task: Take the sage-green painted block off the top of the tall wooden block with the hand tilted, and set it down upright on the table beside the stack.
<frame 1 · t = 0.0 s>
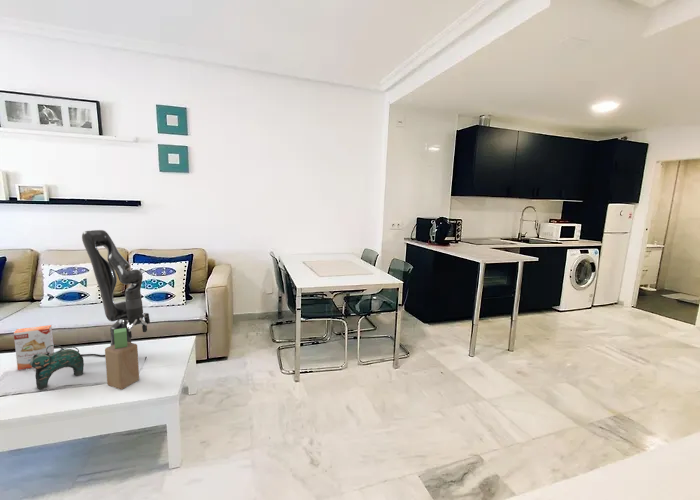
hand: (137, 334, 181), 17 cm above the table, tool pointing down, fingers open, 8 cm apart
ceramic cat: (59, 381, 165), on the table
green block: (121, 345, 162), point 20 cm above the table, touching wooden block
wooden block: (123, 383, 166), on the table, touching green block
cracker box: (37, 365, 178), on the table
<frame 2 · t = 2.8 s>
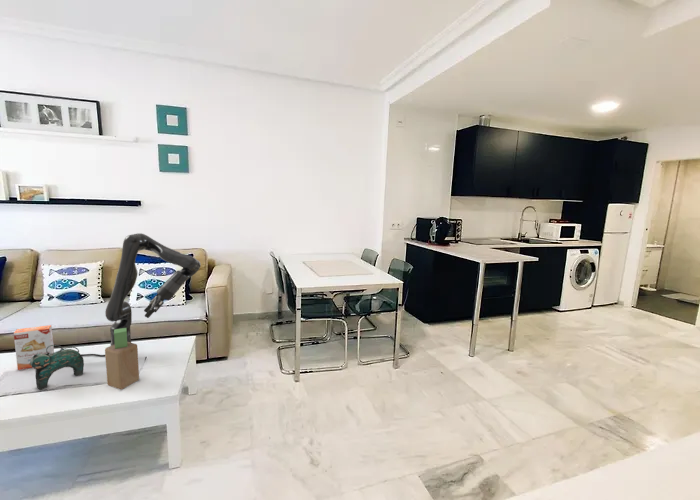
hand: (145, 314, 167), 34 cm above the table, tool tilted 40°, fingers open, 8 cm apart
nothing on the table moved.
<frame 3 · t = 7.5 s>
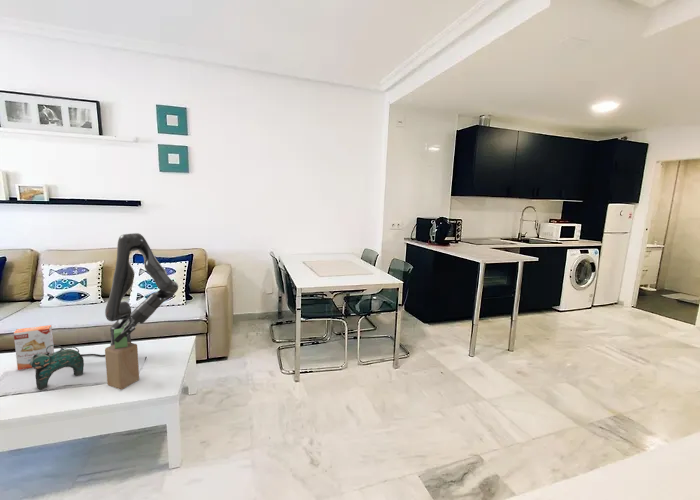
hand: (116, 339, 161), 24 cm above the table, tool tilted 45°, fingers closed on green block, 5 cm apart
green block: (121, 345, 162), point 20 cm above the table, touching gripper, wooden block
everything else where it was.
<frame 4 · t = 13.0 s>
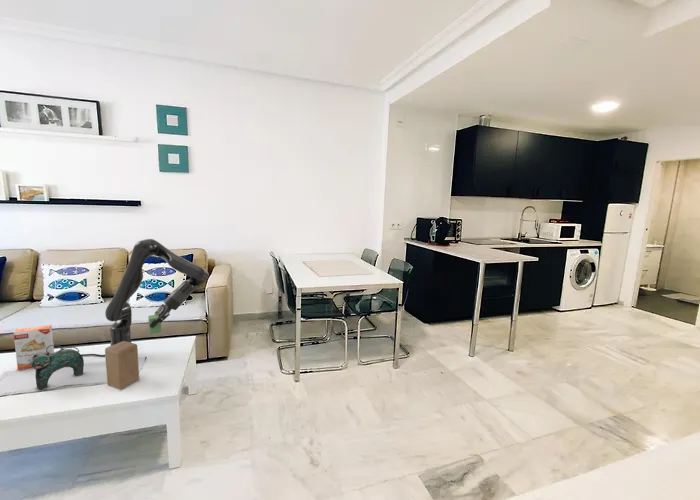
hand: (150, 324, 165), 30 cm above the table, tool tilted 45°, fingers closed on green block, 5 cm apart
green block: (155, 331, 167), point 26 cm above the table, touching gripper
wooden block: (123, 383, 166), on the table
everything else where it was.
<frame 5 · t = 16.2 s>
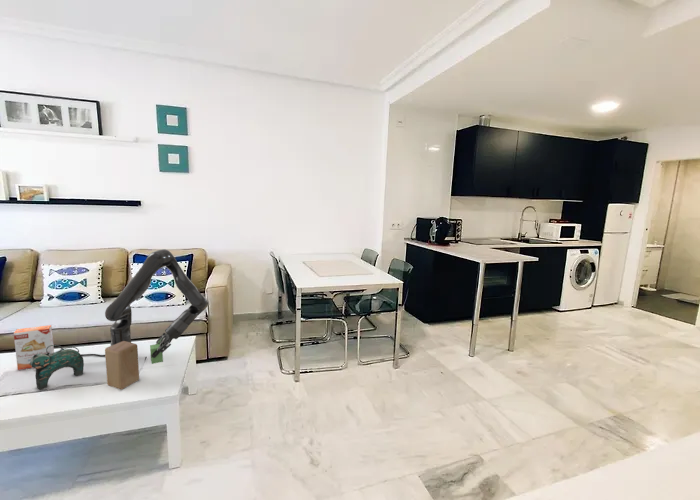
hand: (152, 354, 168), 14 cm above the table, tool tilted 45°, fingers closed on green block, 5 cm apart
green block: (156, 360, 170), point 10 cm above the table, touching gripper
everything else where it was.
when the fingers open (4 cm above the table, at t = 18.9 s): green block stays where it is, on the table.
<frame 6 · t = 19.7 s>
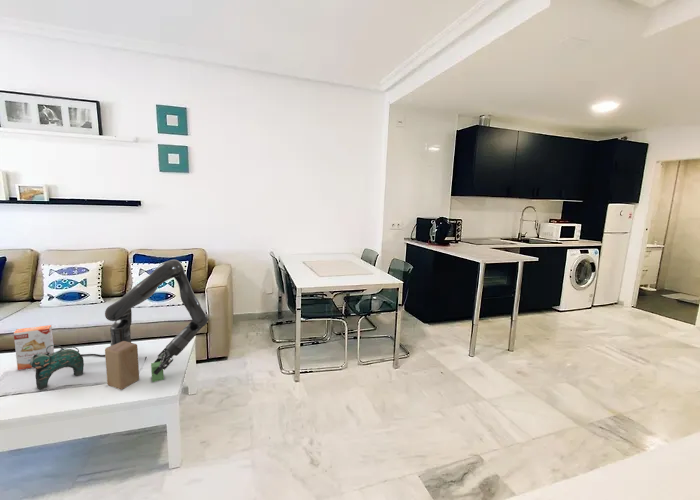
hand: (154, 369, 169), 5 cm above the table, tool tilted 45°, fingers open, 8 cm apart
green block: (157, 378, 171), on the table
everything else where it was.
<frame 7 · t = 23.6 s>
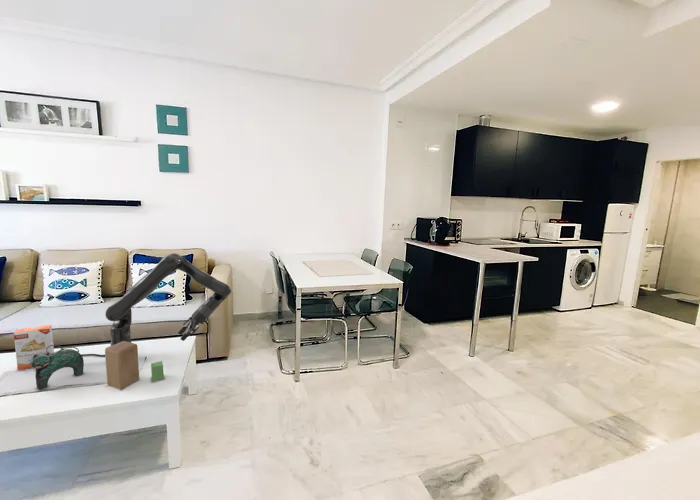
hand: (180, 336, 177), 19 cm above the table, tool tilted 45°, fingers open, 8 cm apart
nothing on the table moved.
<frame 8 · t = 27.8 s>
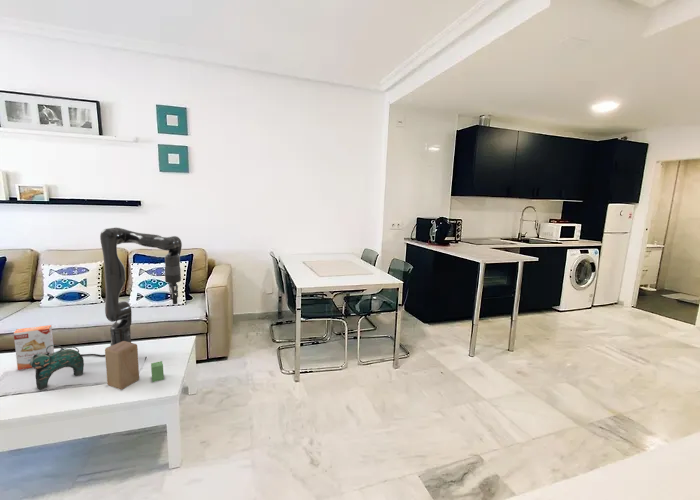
hand: (174, 301, 182), 36 cm above the table, tool pointing down, fingers open, 8 cm apart
nothing on the table moved.
at the end: green block inside the target area (0.1 cm from its centre), on the table; green block tilted 0°; green block touching table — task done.
